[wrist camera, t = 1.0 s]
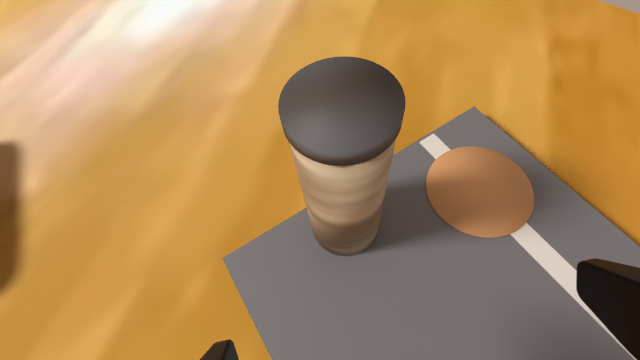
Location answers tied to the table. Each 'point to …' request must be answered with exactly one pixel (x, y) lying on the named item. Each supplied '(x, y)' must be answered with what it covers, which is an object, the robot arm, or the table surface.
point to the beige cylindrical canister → (343, 146)
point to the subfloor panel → (442, 264)
